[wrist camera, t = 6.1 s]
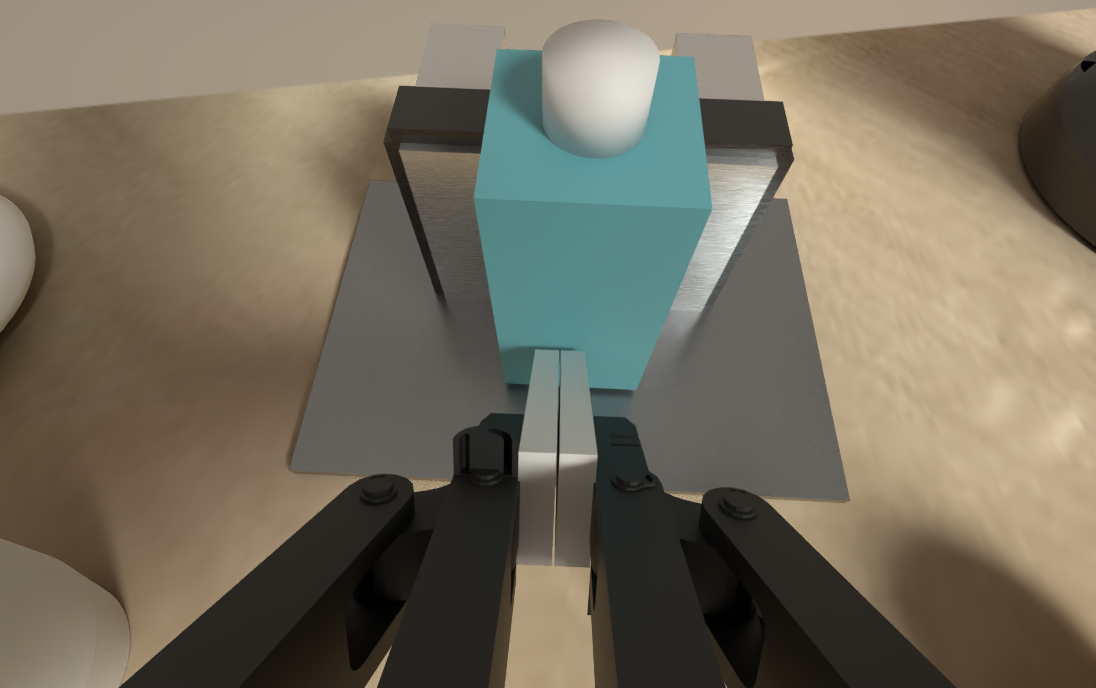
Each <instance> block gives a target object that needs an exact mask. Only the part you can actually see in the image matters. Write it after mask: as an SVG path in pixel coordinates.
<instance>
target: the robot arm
mask: <svg viewBox="0 0 1096 688" xmlns="http://www.w3.org/2000/svg"><path fill="white" fill-rule="evenodd" d="M1020 149H1021V154H1022V158H1023V161H1024V164H1025V167H1026V169H1027V171H1028V173H1029V176H1030V177H1031V179H1032V181H1033V183H1034V184H1035V186H1036V187H1037V189H1038V190H1039V192H1040V193H1041V195H1042V196H1043V197H1044V199H1045V200H1046V201H1047V202H1048V204H1049V205H1050V206H1051V207H1052V208H1053V209H1054V211H1055V212H1056V213H1057V214H1058V215H1059V216H1060V217H1061V218H1062V219H1063V220H1064V221H1065V222H1066V223H1067V224H1068V225H1069V226H1071V227H1072V228H1073V229H1074V230H1075V231H1076V232H1077V233H1079V234H1080V235H1081V236H1082V237H1084V238H1085V239H1086V240H1087V241H1089V242H1090V243H1091V244H1093V245H1094V246H1095V247H1096V51H1094V52H1093V53H1091V54H1089V55H1088V56H1086V57H1085V58H1083V59H1081V60H1080V61H1078V62H1077V63H1076V64H1075V65H1073V66H1072V67H1071V68H1070V69H1068V70H1067V71H1066V72H1065V73H1064V74H1063V75H1062V76H1061V77H1060V78H1059V79H1058V80H1057V81H1056V82H1055V83H1054V84H1053V85H1052V86H1051V87H1050V88H1049V89H1048V90H1047V91H1046V92H1045V93H1044V94H1043V95H1042V96H1041V97H1040V98H1039V99H1038V100H1037V101H1036V102H1035V104H1034V105H1033V106H1032V107H1031V108H1030V109H1029V110H1028V112H1027V114H1026V115H1025V117H1024V119H1023V122H1022V125H1021V129H1020ZM558 371H559V350H538V349H535V355H534V361H533V367H532V373H531V379H530V385H529V391H528V398H527V404H526V410H525V414H506V413H490V414H489V415H488V416H487V417H485V418H484V419H483V420H481V422H480V424H479V426H474V427H469V428H466V429H464V430H462V431H460V432H458V433H457V434H456V435H455V436H454V438H453V468H454V475H453V478H452V480H451V483H450V484H449V485H446V486H443V487H441V488H437V489H432V490H427V491H420V492H414V489H413V483H411V482H410V481H409V480H408V479H407V478H405V477H402V476H399V475H396V474H379V475H378V474H376V475H371V476H368V477H365V478H363V479H360V480H358V481H356V482H355V483H353V484H351V485H350V486H348V487H347V488H346V489H345V490H344V491H343V492H342V493H340V494H339V495H338V496H337V497H336V498H335V499H334V500H332V501H331V502H330V503H329V504H328V505H327V506H326V507H324V508H323V509H322V510H321V511H320V512H319V513H318V514H316V515H315V516H314V517H313V518H312V519H311V520H310V521H308V522H307V523H306V524H305V525H304V526H303V527H302V528H300V529H299V530H298V531H297V532H296V533H295V534H294V535H292V536H291V537H290V538H289V539H288V540H287V541H286V542H284V543H283V544H282V545H281V546H280V547H279V548H278V549H276V550H275V551H274V552H273V553H272V554H271V555H270V556H268V557H267V558H266V559H265V560H264V561H263V562H262V563H260V564H259V565H258V566H257V567H256V568H255V569H254V570H253V571H251V572H250V573H249V574H248V575H247V576H246V577H245V578H243V579H242V580H241V581H240V582H239V583H238V584H237V585H235V586H234V587H233V588H232V589H231V590H230V591H229V592H227V593H226V594H225V595H224V596H223V597H222V598H221V599H219V600H218V601H217V602H216V603H215V604H214V605H213V606H211V607H210V608H209V609H208V610H207V611H206V612H205V613H203V614H202V615H201V616H200V617H199V618H198V619H197V620H195V621H194V622H193V623H192V624H191V625H190V626H189V627H187V628H186V629H185V630H184V631H183V632H182V633H181V634H179V635H178V636H177V637H176V638H175V639H174V640H173V641H171V642H170V643H169V644H168V645H167V646H166V647H165V648H163V649H162V650H161V651H160V652H159V653H158V654H157V655H156V656H154V657H153V658H152V659H151V660H150V661H149V662H148V663H146V664H145V665H144V666H143V667H142V668H141V669H140V670H138V671H137V672H136V673H135V674H134V675H133V676H132V677H130V678H129V679H128V680H127V681H126V682H125V683H124V684H122V685H121V686H120V687H119V688H364V687H365V686H366V684H367V683H368V681H369V680H370V678H371V677H372V675H373V674H374V672H375V671H376V669H377V668H378V666H379V664H380V663H381V661H382V660H383V658H384V657H385V655H386V654H387V652H388V651H389V649H390V648H391V650H390V653H389V656H388V659H387V661H386V664H385V667H384V670H383V672H382V675H381V678H380V681H379V684H378V686H377V688H504V686H505V677H506V668H507V659H508V650H509V640H510V631H511V622H512V613H513V604H514V594H515V585H516V564H525V565H545V566H552V544H553V521H554V498H555V476H556V452H557V477H556V521H555V565H554V566H567V567H587V568H590V556H591V571H590V585H589V599H588V613H587V615H591V621H592V639H593V657H594V674H595V688H726V687H725V684H726V686H727V688H956V687H955V686H954V685H953V684H952V683H951V682H950V681H949V680H948V679H947V678H946V677H945V676H944V675H943V674H942V673H941V672H940V671H939V670H938V669H937V668H936V667H935V666H934V665H933V664H931V663H930V662H929V661H928V660H927V659H926V658H925V657H924V656H923V655H922V654H921V653H920V652H919V651H918V650H917V649H916V648H915V647H914V646H913V645H912V644H911V643H910V642H909V641H908V640H907V639H906V638H905V637H904V636H903V635H902V634H901V633H900V632H899V631H898V630H897V629H896V628H895V627H894V626H893V625H892V624H891V623H890V622H889V621H888V620H887V619H886V618H885V617H884V616H883V615H882V614H881V613H880V612H879V611H878V610H877V609H876V608H874V607H873V606H872V605H871V604H870V603H869V602H868V601H867V600H866V599H865V598H864V597H863V596H862V595H861V594H860V593H859V592H858V591H857V590H856V589H855V588H854V587H853V586H852V585H851V584H850V583H849V582H848V581H847V580H846V579H845V578H844V577H843V576H842V575H841V574H840V573H839V572H838V571H837V570H836V569H835V568H834V567H833V566H832V565H831V564H830V563H829V562H828V561H827V560H826V559H825V558H824V557H823V556H822V555H821V554H820V553H818V552H817V551H816V550H815V549H814V548H813V547H812V546H811V545H810V544H809V543H808V542H807V541H806V540H805V539H804V538H803V537H802V536H801V535H800V534H799V533H798V532H797V531H796V530H795V529H794V528H793V527H792V526H791V525H790V524H789V523H788V522H787V521H786V520H785V519H784V518H783V517H782V516H781V515H780V514H779V513H778V512H777V511H776V510H775V509H774V508H773V507H772V506H771V505H770V504H769V503H767V502H766V501H765V500H763V499H762V498H760V497H759V496H757V495H755V494H753V493H750V492H748V491H746V490H743V489H738V488H733V487H730V488H729V487H719V488H715V489H711V490H709V491H708V492H706V493H705V494H704V495H703V499H702V504H700V503H695V502H691V501H687V500H683V499H680V498H677V497H674V496H672V495H670V494H668V493H665V492H664V489H663V486H662V483H661V481H660V480H659V478H658V477H657V476H656V475H654V474H653V473H651V472H650V471H649V469H648V466H647V463H646V459H645V456H644V452H643V449H642V447H641V442H640V439H639V435H638V432H637V429H636V426H635V425H634V424H633V423H631V422H630V421H629V420H628V419H627V418H626V417H608V416H593V414H592V406H591V398H590V390H589V382H588V374H587V366H586V358H585V351H562V350H561V362H560V385H559V408H558ZM557 411H558V433H557ZM516 560H517V563H516ZM391 646H392V647H391ZM724 682H725V684H724Z"/></svg>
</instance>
